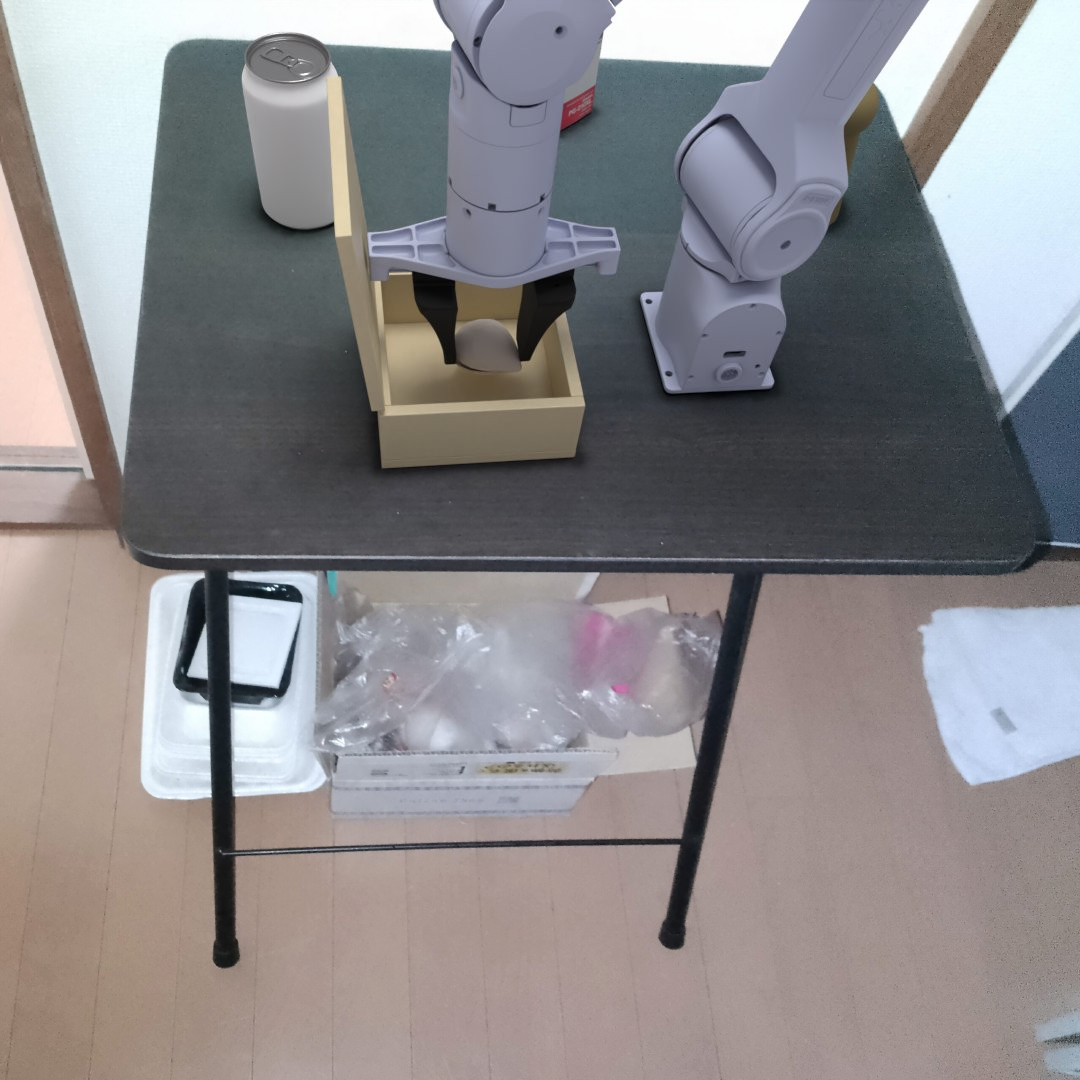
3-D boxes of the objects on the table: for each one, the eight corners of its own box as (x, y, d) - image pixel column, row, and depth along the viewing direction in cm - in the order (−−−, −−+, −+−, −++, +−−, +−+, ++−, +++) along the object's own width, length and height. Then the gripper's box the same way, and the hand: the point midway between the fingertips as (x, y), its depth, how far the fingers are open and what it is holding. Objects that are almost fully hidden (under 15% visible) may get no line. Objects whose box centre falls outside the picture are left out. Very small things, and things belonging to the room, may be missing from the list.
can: (312, 245, 73) (294, 98, 63) (243, 208, 75) (216, 58, 65) (365, 200, 77) (357, 53, 66) (299, 165, 78) (281, 16, 68)
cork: (817, 240, 79) (869, 118, 70) (753, 204, 81) (795, 81, 72) (851, 203, 82) (905, 81, 73) (788, 170, 84) (834, 47, 74)
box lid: (340, 75, 54) (326, 76, 54) (351, 235, 47) (334, 236, 47) (372, 261, 65) (360, 262, 65) (385, 410, 58) (371, 411, 58)
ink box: (594, 112, 85) (616, -27, 75) (555, 135, 83) (573, -5, 73) (522, 65, 88) (535, -75, 78) (483, 86, 86) (491, -55, 76)
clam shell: (478, 328, 68) (480, 301, 65) (538, 364, 66) (542, 337, 64) (439, 364, 65) (439, 337, 63) (500, 402, 64) (503, 376, 62)
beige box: (546, 317, 72) (554, 261, 67) (574, 457, 65) (585, 405, 61) (370, 324, 70) (367, 266, 65) (381, 468, 63) (378, 416, 59)
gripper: (617, 129, 56) (585, 303, 68) (359, 130, 54) (370, 310, 66) (642, 212, 53) (603, 382, 64) (366, 217, 50) (377, 392, 62)
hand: (486, 351), depth 65 cm, fingers closed on clam shell, 4 cm apart
